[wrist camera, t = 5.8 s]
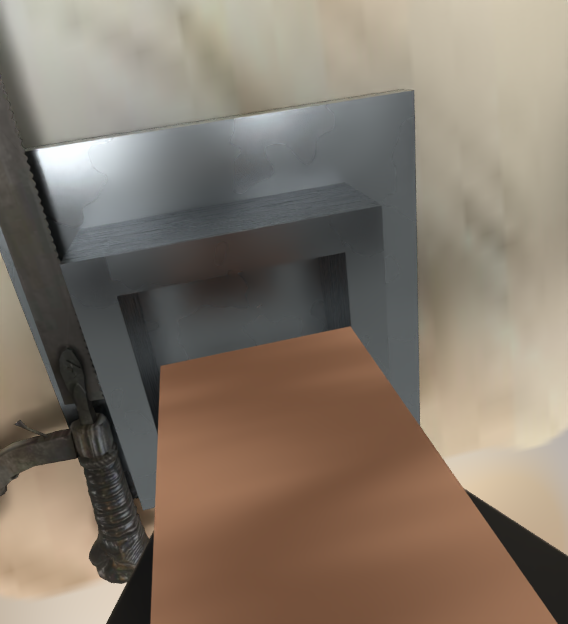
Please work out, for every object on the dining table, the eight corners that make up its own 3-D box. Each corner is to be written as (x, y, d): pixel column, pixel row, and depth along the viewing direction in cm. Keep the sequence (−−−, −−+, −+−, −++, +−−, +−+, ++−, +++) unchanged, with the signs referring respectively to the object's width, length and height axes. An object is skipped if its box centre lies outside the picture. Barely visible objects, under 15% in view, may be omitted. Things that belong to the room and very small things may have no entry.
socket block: (402, 89, 15) (468, 94, 12) (411, 417, 21) (459, 485, 17) (-25, 156, 14) (-88, 183, 10) (102, 490, 19) (87, 580, 16)
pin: (350, 326, 11) (679, 797, 4) (362, 469, 13) (602, 975, 6) (160, 365, 11) (135, 986, 3) (199, 509, 12) (238, 1117, 5)
